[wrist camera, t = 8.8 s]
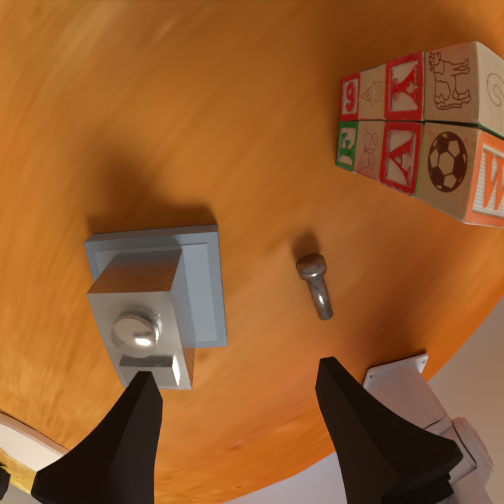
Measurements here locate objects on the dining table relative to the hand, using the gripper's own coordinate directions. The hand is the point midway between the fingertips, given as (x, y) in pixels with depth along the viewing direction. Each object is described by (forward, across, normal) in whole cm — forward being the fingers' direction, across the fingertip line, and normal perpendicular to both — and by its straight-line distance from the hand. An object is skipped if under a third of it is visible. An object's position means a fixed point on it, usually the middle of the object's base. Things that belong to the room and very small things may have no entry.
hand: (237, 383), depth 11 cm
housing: (+8, +5, 0) cm, 10 cm away
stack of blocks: (+10, -18, -9) cm, 23 cm away
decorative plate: (+10, +40, +36) cm, 55 cm away
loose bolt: (+10, -6, +2) cm, 12 cm away
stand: (+10, +5, 0) cm, 11 cm away
